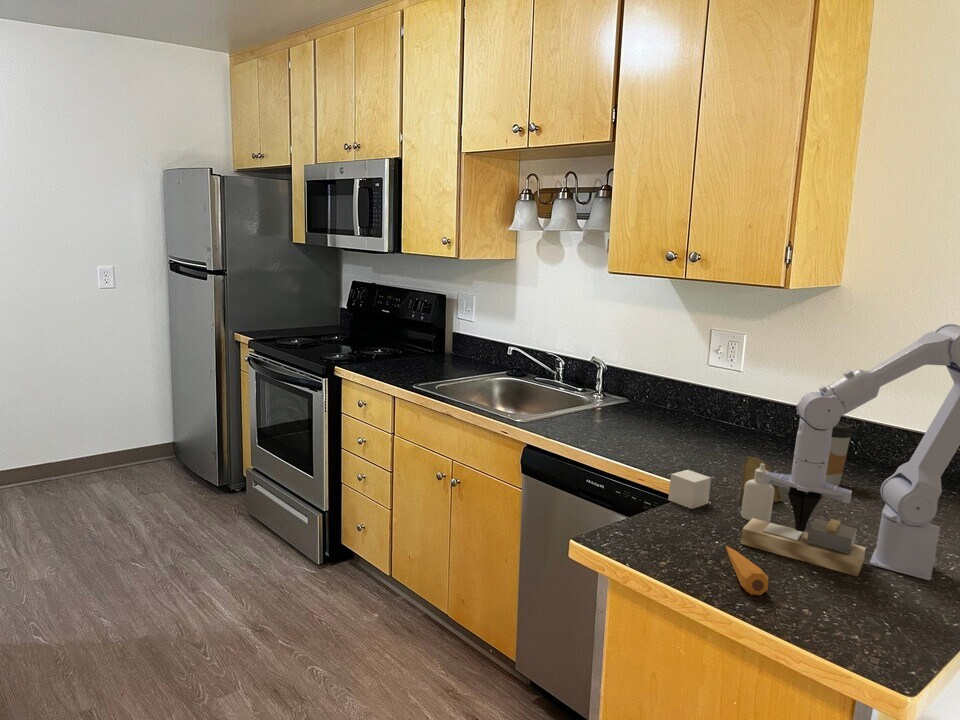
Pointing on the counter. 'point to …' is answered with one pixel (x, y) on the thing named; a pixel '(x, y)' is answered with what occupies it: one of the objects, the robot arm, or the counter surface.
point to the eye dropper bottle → (757, 497)
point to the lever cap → (832, 535)
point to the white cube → (689, 489)
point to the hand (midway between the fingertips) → (800, 529)
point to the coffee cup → (838, 453)
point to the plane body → (800, 547)
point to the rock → (749, 474)
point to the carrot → (748, 573)
